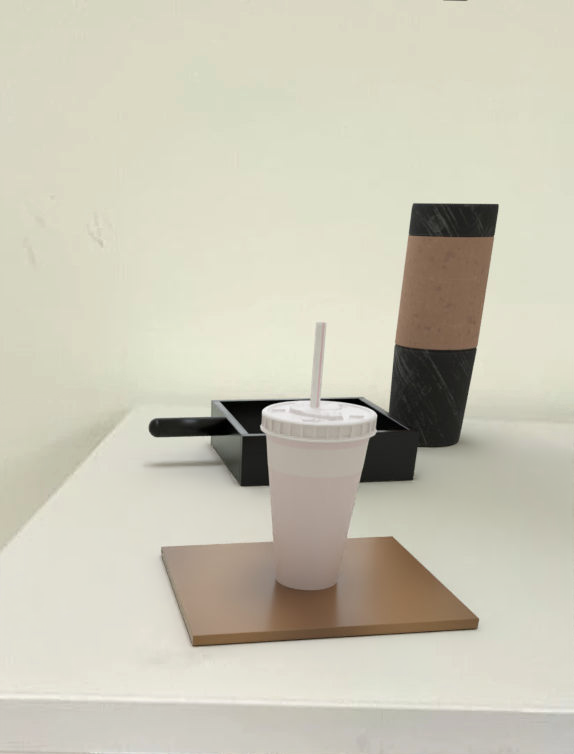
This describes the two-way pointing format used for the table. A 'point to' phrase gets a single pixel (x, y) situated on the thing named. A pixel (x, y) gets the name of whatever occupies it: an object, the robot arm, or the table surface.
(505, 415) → the table surface
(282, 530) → the smoothie
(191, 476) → the table surface
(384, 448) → the pan
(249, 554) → the brown mat
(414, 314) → the travel mug
